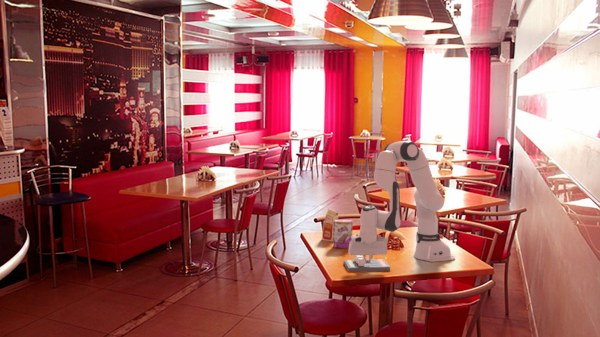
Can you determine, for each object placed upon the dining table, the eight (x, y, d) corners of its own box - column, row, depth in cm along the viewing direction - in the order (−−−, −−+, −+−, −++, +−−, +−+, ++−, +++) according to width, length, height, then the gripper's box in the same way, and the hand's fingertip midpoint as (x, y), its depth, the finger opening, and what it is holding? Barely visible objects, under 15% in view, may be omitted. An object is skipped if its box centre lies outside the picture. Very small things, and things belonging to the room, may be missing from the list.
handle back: (359, 259, 288) (359, 253, 288) (360, 260, 286) (360, 254, 285) (354, 259, 288) (354, 253, 287) (355, 261, 285) (355, 254, 285)
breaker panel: (383, 262, 291) (383, 258, 291) (390, 270, 277) (390, 266, 277) (343, 263, 289) (343, 259, 289) (348, 271, 275) (348, 267, 275)
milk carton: (321, 239, 338) (321, 209, 336) (329, 236, 346) (329, 206, 343) (333, 242, 333) (334, 210, 331) (341, 238, 341) (341, 208, 338)
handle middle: (361, 262, 284) (361, 255, 283) (362, 263, 281) (362, 256, 281) (356, 262, 283) (356, 255, 283) (356, 263, 281) (357, 256, 281)
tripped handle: (363, 264, 279) (363, 257, 279) (364, 266, 277) (364, 259, 276) (358, 264, 279) (358, 258, 279) (358, 266, 277) (359, 259, 276)
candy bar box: (333, 248, 319) (333, 221, 317) (333, 245, 324) (334, 219, 322) (352, 248, 318) (352, 222, 316) (352, 246, 323) (352, 220, 321)
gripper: (386, 235, 280) (385, 260, 282) (348, 235, 278) (347, 261, 280) (389, 238, 274) (388, 264, 276) (350, 238, 272) (349, 265, 274)
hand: (367, 262), depth 278 cm, fingers closed
